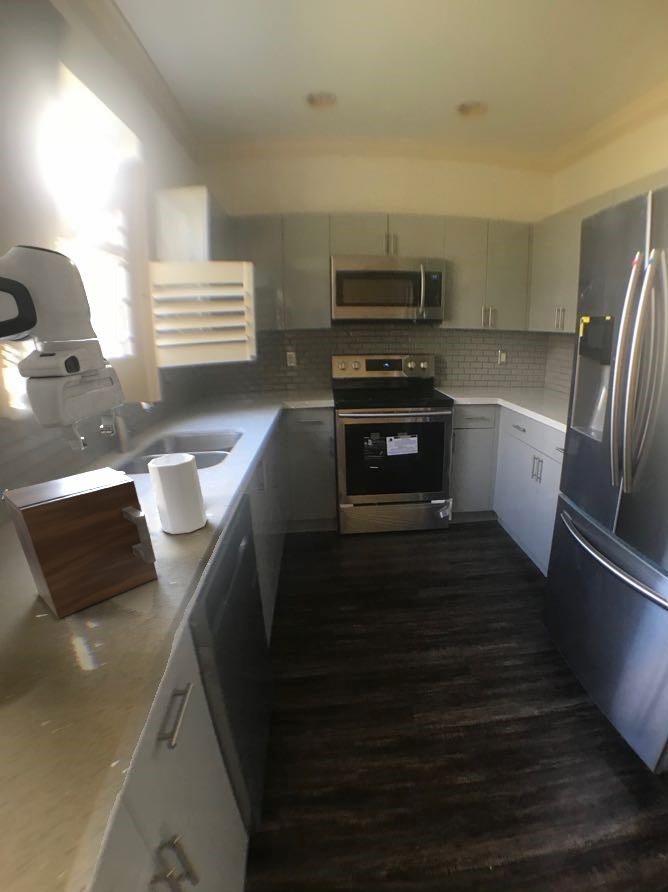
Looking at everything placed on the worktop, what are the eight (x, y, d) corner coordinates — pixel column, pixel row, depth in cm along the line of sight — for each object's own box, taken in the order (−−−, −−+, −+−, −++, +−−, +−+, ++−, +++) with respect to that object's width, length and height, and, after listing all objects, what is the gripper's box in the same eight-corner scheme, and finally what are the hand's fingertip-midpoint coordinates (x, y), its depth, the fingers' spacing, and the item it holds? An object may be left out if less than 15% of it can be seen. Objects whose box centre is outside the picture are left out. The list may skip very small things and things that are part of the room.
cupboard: (155, 576, 99) (131, 478, 90) (57, 616, 86) (18, 507, 78) (132, 559, 106) (108, 467, 98) (39, 594, 93) (2, 492, 85)
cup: (166, 538, 116) (150, 469, 109) (159, 523, 124) (144, 458, 117) (212, 527, 121) (199, 460, 114) (202, 513, 130) (189, 450, 123)
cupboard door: (172, 588, 94) (149, 487, 85) (71, 634, 81) (31, 520, 73) (155, 575, 98) (131, 479, 90) (57, 616, 86) (19, 508, 78)
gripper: (88, 354, 84) (108, 428, 89) (8, 366, 65) (38, 459, 70) (123, 353, 84) (140, 427, 89) (53, 364, 65) (80, 457, 70)
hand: (95, 441), depth 80 cm, fingers open, 8 cm apart
